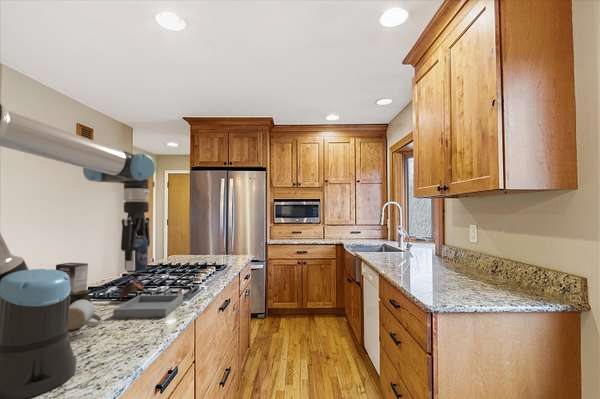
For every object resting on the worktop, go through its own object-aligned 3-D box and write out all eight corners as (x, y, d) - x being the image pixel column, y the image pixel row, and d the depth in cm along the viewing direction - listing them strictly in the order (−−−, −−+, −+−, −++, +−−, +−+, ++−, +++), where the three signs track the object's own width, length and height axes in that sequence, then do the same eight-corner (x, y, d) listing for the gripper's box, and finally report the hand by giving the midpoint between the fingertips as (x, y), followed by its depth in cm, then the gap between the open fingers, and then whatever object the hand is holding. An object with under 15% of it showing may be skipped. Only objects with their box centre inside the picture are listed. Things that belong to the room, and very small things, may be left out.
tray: (165, 317, 103) (165, 308, 103) (113, 318, 102) (113, 309, 102) (183, 301, 121) (183, 294, 121) (138, 302, 120) (138, 295, 120)
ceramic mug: (56, 333, 90) (58, 307, 90) (68, 323, 97) (69, 300, 98) (96, 329, 93) (98, 304, 93) (104, 320, 101) (106, 297, 101)
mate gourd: (91, 314, 106) (91, 287, 106) (64, 319, 101) (65, 290, 102) (92, 309, 112) (92, 283, 112) (66, 313, 107) (67, 286, 108)
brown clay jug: (143, 302, 122) (132, 286, 120) (122, 312, 122) (111, 297, 120) (153, 288, 134) (143, 273, 132) (134, 297, 133) (124, 283, 131)
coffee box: (53, 305, 116) (54, 264, 117) (68, 300, 123) (69, 262, 123) (72, 306, 115) (74, 265, 116) (87, 301, 121) (88, 262, 122)
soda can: (143, 272, 98) (143, 236, 98) (120, 273, 97) (120, 237, 97) (150, 268, 104) (150, 234, 105) (130, 269, 103) (130, 235, 104)
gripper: (131, 200, 91) (131, 274, 91) (160, 201, 111) (160, 262, 111) (107, 200, 91) (107, 275, 90) (140, 201, 111) (140, 262, 110)
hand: (136, 267), depth 101 cm, fingers closed on soda can, 7 cm apart
